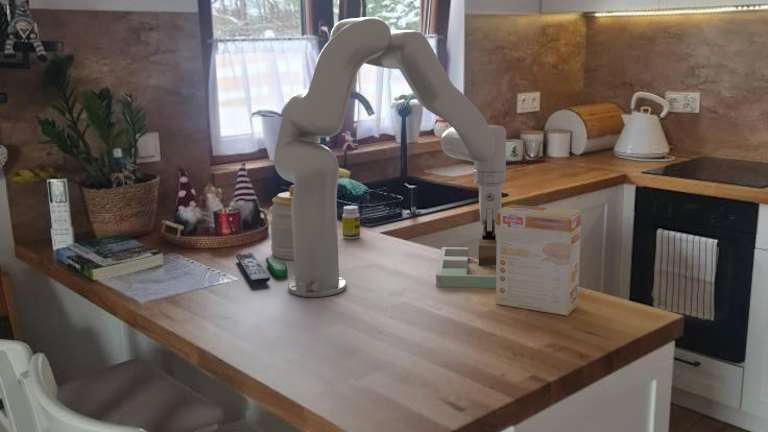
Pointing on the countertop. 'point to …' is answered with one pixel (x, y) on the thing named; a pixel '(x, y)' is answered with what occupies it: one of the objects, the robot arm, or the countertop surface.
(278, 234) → the jar
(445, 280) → the trap box
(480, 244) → the block
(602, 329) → the countertop surface
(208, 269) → the countertop surface
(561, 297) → the coffeecake box
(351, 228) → the supplement bottle
